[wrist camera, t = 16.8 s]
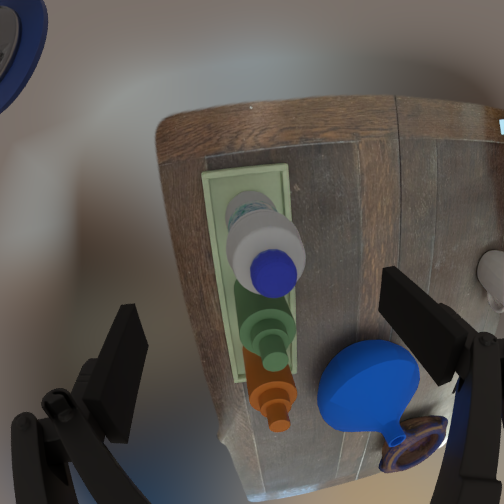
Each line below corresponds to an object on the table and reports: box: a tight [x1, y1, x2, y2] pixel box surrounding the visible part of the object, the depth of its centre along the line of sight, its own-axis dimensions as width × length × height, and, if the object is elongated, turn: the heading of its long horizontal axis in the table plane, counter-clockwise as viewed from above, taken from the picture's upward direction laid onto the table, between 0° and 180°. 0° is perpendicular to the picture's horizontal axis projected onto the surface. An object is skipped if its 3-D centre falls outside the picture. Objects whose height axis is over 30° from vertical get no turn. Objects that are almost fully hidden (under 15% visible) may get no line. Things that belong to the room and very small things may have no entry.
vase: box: [317, 340, 420, 447], centre depth 44 cm, size 18×18×19 cm
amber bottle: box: [242, 346, 297, 432], centre depth 41 cm, size 6×6×16 cm
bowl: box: [379, 415, 448, 473], centre depth 61 cm, size 18×18×10 cm
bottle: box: [225, 191, 306, 298], centre depth 31 cm, size 7×7×20 cm
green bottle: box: [234, 279, 296, 372], centre depth 37 cm, size 6×6×16 cm
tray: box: [201, 163, 297, 383], centre depth 44 cm, size 34×11×2 cm, turn 5°
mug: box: [477, 250, 504, 313], centre depth 45 cm, size 13×9×10 cm
